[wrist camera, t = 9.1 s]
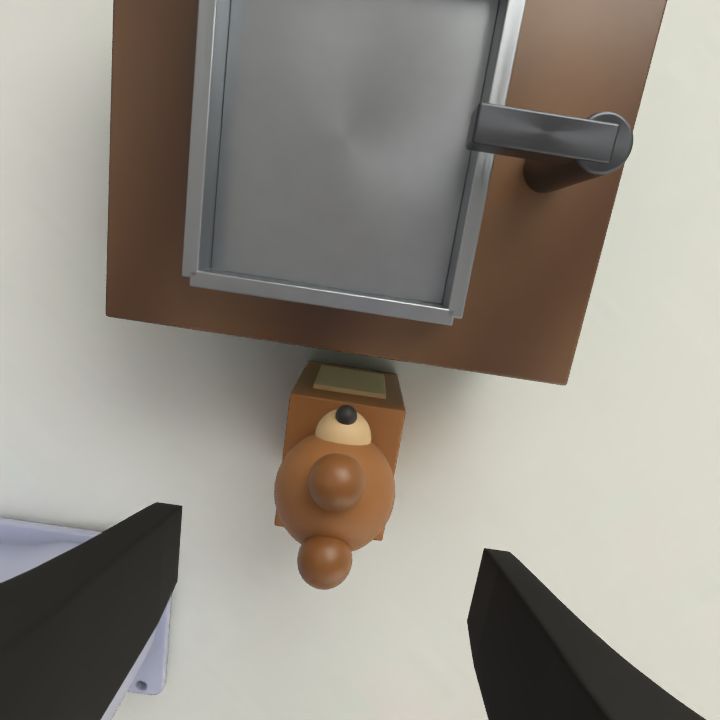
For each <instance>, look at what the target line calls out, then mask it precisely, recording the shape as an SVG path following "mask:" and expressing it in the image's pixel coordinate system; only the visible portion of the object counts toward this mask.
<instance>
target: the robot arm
mask: <svg viewBox="0 0 720 720" xmlns="http://www.w3.org/2000/svg"><path fill="white" fill-rule="evenodd" d="M181 518H182V506H179V505H172V504H165V503H158V502H156V503H154V504H152V505H150V506H148V507H146V508H145V509H143V510H141V511H139V512H137V513H136V514H134V515H132V516H130V517H129V518H127V519H125V520H123V521H122V522H120V523H118V524H116V525H115V526H113V527H111V528H109V529H107V530H106V531H104V532H99V531H92V530H85V529H78V528H71V527H64V526H57V525H50V524H43V523H36V522H29V521H22V520H15V519H8V518H1V517H0V720H112V718H113V716H114V714H115V712H116V711H117V709H118V707H119V705H120V703H121V701H122V700H123V698H124V696H125V694H126V692H134V693H141V694H148V695H157V694H159V693H160V692H161V691H162V690H163V688H164V686H165V683H166V672H167V657H168V642H169V627H170V612H171V597H172V592H173V590H174V587H175V585H176V583H177V578H178V563H179V548H180V533H181ZM467 623H468V631H469V638H470V645H471V651H472V657H473V663H474V668H475V672H476V675H477V679H478V683H479V686H480V690H481V694H482V697H483V701H484V705H485V708H486V712H487V715H488V719H489V720H706V719H704V718H703V717H701V716H700V715H698V714H697V713H695V712H694V711H693V710H691V709H690V708H688V707H687V706H685V705H684V704H683V703H681V702H680V701H678V700H677V699H676V698H674V697H673V696H672V695H670V694H669V693H667V692H666V691H665V690H663V689H662V688H661V687H660V686H658V685H657V684H656V683H654V682H653V681H652V680H651V679H649V678H648V677H647V676H645V675H644V674H643V673H642V672H640V671H639V670H638V669H636V668H635V667H634V666H633V665H631V664H630V663H629V662H628V661H626V660H625V659H624V658H623V657H622V656H620V655H619V654H618V653H617V652H616V651H615V650H613V649H612V648H611V647H610V646H609V645H608V644H607V643H605V642H604V641H603V640H602V639H601V638H600V637H599V636H597V635H596V634H595V633H594V632H593V631H592V630H591V629H590V628H588V627H587V626H586V625H585V624H584V623H583V622H582V621H581V620H580V619H579V618H578V617H577V616H575V615H574V614H573V613H572V612H571V611H570V610H569V609H568V608H567V607H566V606H565V605H564V604H563V603H562V602H561V601H560V600H559V599H558V598H557V597H556V596H555V595H554V594H553V593H552V592H551V591H550V590H549V589H548V588H547V587H546V586H545V585H544V584H543V583H542V582H541V581H540V580H539V579H538V578H537V577H536V576H535V575H534V574H533V573H531V572H530V571H529V570H528V569H527V568H526V567H525V566H524V565H523V564H522V563H521V562H520V561H519V560H518V559H517V558H516V557H515V556H514V555H513V554H511V553H510V552H507V551H500V550H493V549H486V548H484V551H483V555H482V560H481V564H480V568H479V572H478V577H477V581H476V585H475V589H474V594H473V598H472V602H471V606H470V611H469V615H468V619H467ZM142 681H143V682H142Z"/></svg>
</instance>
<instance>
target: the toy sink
mask: <svg viewBox="0 0 720 720" xmlns="http://www.w3.org/2000/svg"><path fill="white" fill-rule="evenodd" d="M666 3H667V0H114V1H113V41H112V81H111V121H110V160H109V200H108V240H107V280H106V316H108V317H113V318H120V319H127V320H133V321H140V322H146V323H153V324H160V325H166V326H173V327H180V328H186V329H193V330H200V331H206V332H213V333H219V334H226V335H233V336H239V337H246V338H253V339H259V340H266V341H272V342H279V343H286V344H292V345H299V346H306V347H312V348H319V349H326V350H332V351H339V352H345V353H352V354H359V355H365V356H372V357H379V358H385V359H392V360H398V361H405V362H412V363H418V364H425V365H432V366H438V367H445V368H452V369H458V370H465V371H471V372H478V373H485V374H491V375H498V376H505V377H511V378H518V379H524V380H531V381H538V382H544V383H551V384H558V385H566V384H567V381H568V377H569V373H570V370H571V366H572V362H573V358H574V354H575V351H576V347H577V343H578V339H579V335H580V331H581V328H582V324H583V320H584V316H585V312H586V309H587V305H588V301H589V297H590V293H591V289H592V286H593V282H594V278H595V274H596V270H597V266H598V263H599V259H600V255H601V251H602V247H603V244H604V240H605V236H606V232H607V228H608V224H609V221H610V217H611V213H612V209H613V205H614V202H615V198H616V194H617V190H618V186H619V182H620V179H621V175H622V171H623V167H624V163H625V161H626V160H627V158H628V156H629V154H630V152H631V149H632V145H633V129H634V125H635V121H636V117H637V114H638V110H639V106H640V102H641V98H642V95H643V91H644V87H645V83H646V79H647V75H648V72H649V68H650V64H651V60H652V56H653V52H654V49H655V45H656V41H657V37H658V33H659V30H660V26H661V22H662V18H663V14H664V10H665V7H666Z"/></svg>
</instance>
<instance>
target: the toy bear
mask: <svg viewBox="0 0 720 720" xmlns="http://www.w3.org/2000/svg"><path fill="white" fill-rule="evenodd" d="M404 418H405V407H404V403H403V398H402V394H401V389H400V385H399V380H398V376H397V374H390V373H384V372H377V371H370V370H364V369H357V368H350V367H344V366H337V365H330V364H324V363H317V362H310V361H309V362H308V363H307V365H306V367H305V369H304V370H303V372H302V374H301V376H300V378H299V380H298V381H297V383H296V385H295V387H294V389H293V391H292V392H291V394H290V400H289V408H288V417H287V425H286V433H285V441H284V450H283V458H282V463H281V465H280V467H279V470H278V473H277V477H276V481H275V491H274V496H275V505H276V516H275V525H276V526H282V527H285V529H286V530H287V531H288V533H289V534H290V535H291V536H292V537H293V538H294V539H295V540H296V541H297V542H299V543H300V544H302V545H301V547H300V549H299V552H298V558H297V563H298V569H299V572H300V574H301V576H302V578H303V579H304V581H305V582H306V583H308V584H309V585H310V586H312V587H314V588H317V589H323V590H325V589H331V588H334V587H336V586H338V585H339V584H341V583H342V582H343V581H344V580H345V578H346V577H347V576H348V574H349V572H350V569H351V565H352V553H351V552H352V551H355V550H357V549H360V548H361V547H363V546H365V545H366V544H368V543H369V542H371V541H372V540H379V541H382V539H383V533H384V528H385V525H386V523H387V521H388V519H389V517H390V515H391V512H392V508H393V505H394V498H395V483H394V473H395V467H396V462H397V456H398V451H399V445H400V440H401V434H402V429H403V423H404Z"/></svg>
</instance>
